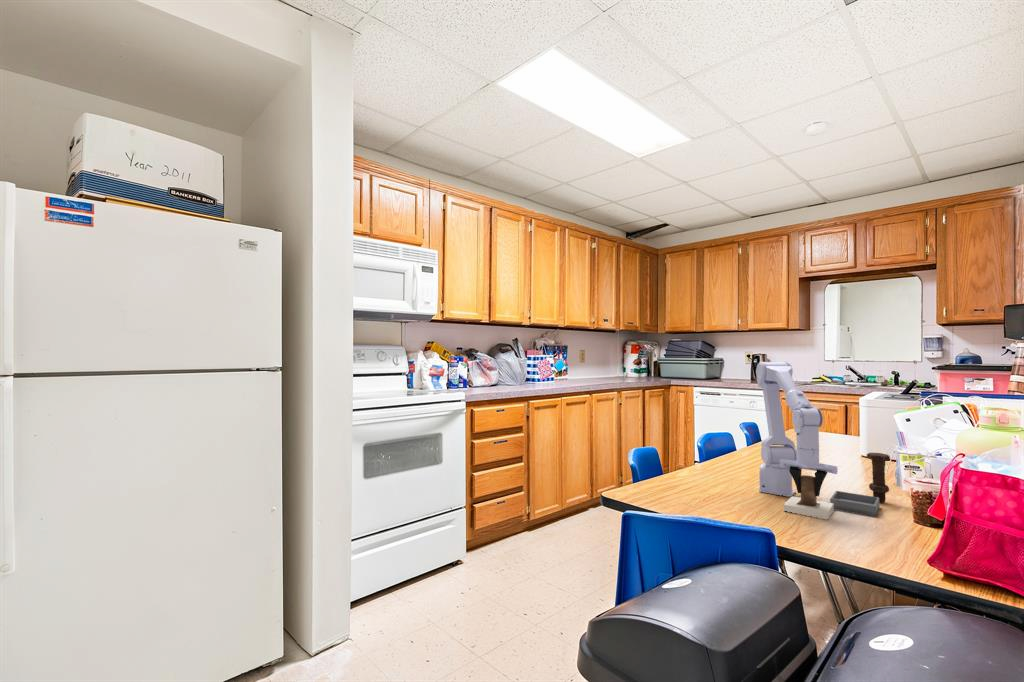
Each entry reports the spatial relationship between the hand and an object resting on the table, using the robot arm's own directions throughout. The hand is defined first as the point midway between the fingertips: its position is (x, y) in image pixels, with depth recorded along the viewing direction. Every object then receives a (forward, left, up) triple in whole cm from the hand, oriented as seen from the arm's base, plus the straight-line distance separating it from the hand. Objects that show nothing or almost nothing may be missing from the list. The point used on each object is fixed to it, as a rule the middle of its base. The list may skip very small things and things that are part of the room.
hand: (808, 494), depth 143 cm
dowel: (0, 0, -3) cm, 3 cm away
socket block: (0, 0, -5) cm, 5 cm away
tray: (+10, +12, -5) cm, 16 cm away
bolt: (+15, +24, -5) cm, 29 cm away
